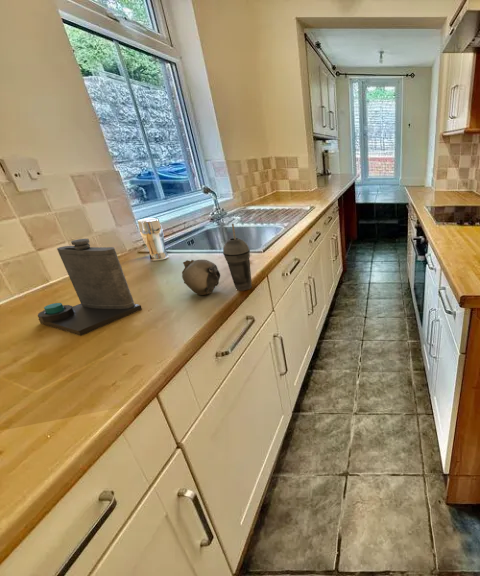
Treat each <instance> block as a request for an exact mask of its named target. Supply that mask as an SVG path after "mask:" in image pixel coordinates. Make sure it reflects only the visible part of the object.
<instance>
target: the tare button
mask: <svg viewBox="0 0 480 576" xmlns="http://www.w3.org/2000/svg"><path fill="white" fill-rule="evenodd" d="M63 305H64V304H63V303H62V302H55V303H54V302H53V303H50V304H47V305H45V306H44V307H43V310H45V311H46V313H47V314H55V313H58V312H61V311H63V310H65V309H64V307H63Z"/></svg>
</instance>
